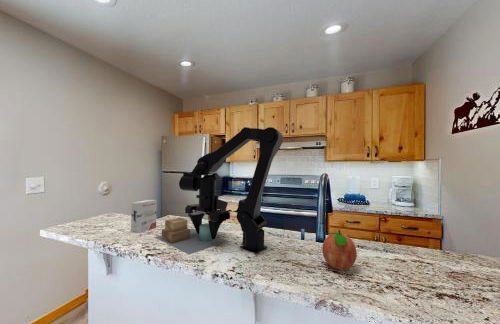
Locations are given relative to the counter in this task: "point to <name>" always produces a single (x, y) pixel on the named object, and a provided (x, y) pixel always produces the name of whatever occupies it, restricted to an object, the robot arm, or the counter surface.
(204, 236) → the teal cylinder
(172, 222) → the oak block
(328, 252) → the fruit
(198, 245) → the slate mat
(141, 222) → the ink box
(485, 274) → the counter surface
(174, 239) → the walnut base block
